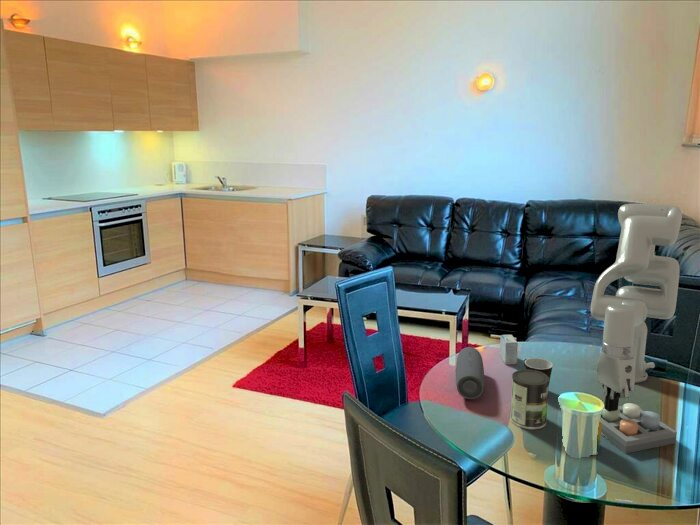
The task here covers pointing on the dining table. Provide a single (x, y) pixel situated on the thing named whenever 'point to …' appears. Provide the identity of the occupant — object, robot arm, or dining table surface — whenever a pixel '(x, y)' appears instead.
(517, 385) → the coffee can
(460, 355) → the bluetooth speaker
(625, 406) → the button cream
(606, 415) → the button sage
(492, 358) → the dining table surface
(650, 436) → the grey square tray
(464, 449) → the dining table surface
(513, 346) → the medicine box
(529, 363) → the coffee mug
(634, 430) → the button terracotta
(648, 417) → the button slate
